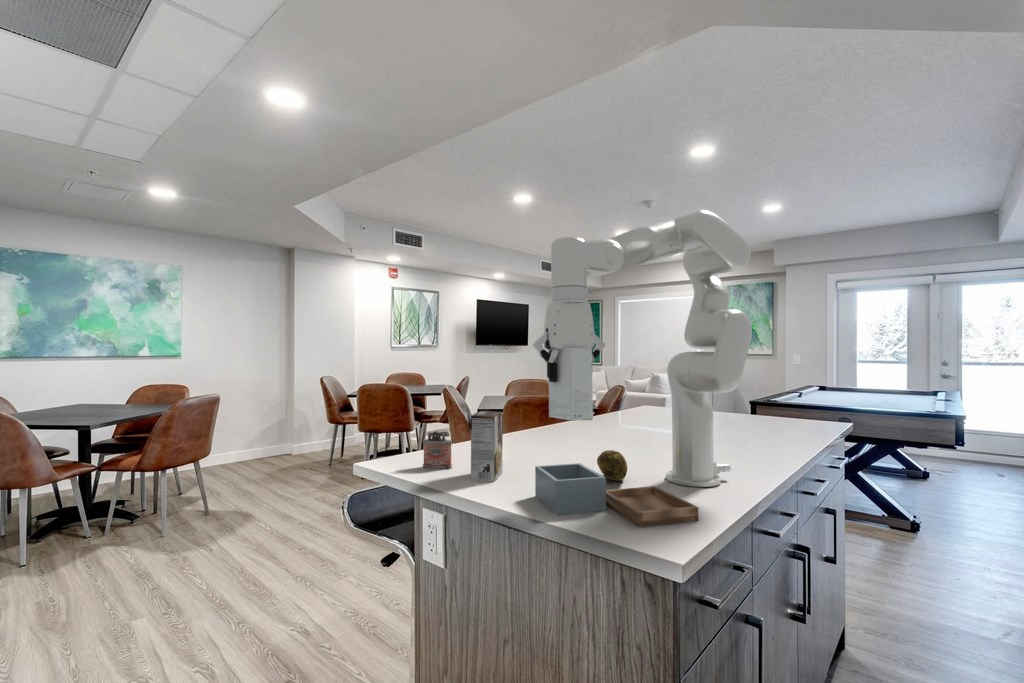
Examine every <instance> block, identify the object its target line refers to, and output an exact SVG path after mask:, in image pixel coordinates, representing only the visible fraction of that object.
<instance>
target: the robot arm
mask: <svg viewBox="0 0 1024 683" xmlns="http://www.w3.org/2000/svg"><path fill="white" fill-rule="evenodd" d="M681 253H683V257H682V265H683V268H684V271H685V273H686V274H687V277H688V279H689V280H690V282H691V284H692V288H693V298H692V304H691V307H690V309H689V313H688V317H687V320H686V324H685V328H684V333H683V337H684V342H685V343H686V345H688V347H690V348H693V349H696V350H714V351H683V352H679V353H678V354H675V355H674V356H672V357H671V359H670V360H669V362H668V365H667V380H668V385H669V390H670V394H671V432H672V433H671V441H672V442H671V444H672V446H671V448H672V449H671V451H672V452H671V455H672V456H671V457H672V458H671V459H672V462H671V464H672V465H671V467H672V468H671V470H669V471H667V472H666V473H665V478H666V480H667V481H669V482H671V483H673V484H676V485H680V486H687V487H693V488H694V487H695V488H697V487H698V488H706V487H707V488H709V487H710V488H711V487H717V486H718V485H720V484H721V483H722V479H721V477H720V476H719V475H718V474H720V473H727V472H728V473H729V472H731V470H732V466H731V465H730V464H729V463H721V464H719V463H718V462H716V461H715V460H714V459H715V457H714V456H715V455H714V452H715V451H714V450H715V449H714V446H715V445H714V409H713V408H714V407H713V404H712V401H711V399H710V397H709V395H708V393H717V394H718V393H719V394H725V393H726V394H727V393H730V392H732V391H735V389H736V388H737V387H738V386H739V384H740V383H741V381H742V380H741V379H742V376H743V374H744V369H745V366H746V362H747V357H748V354H749V349H750V347H751V342H752V334H753V329H752V323H751V320H750V318H749V317H748V315H747V314H746V313H745V312H743V311H741V310H738V309H728V308H729V304H730V293H729V290H728V288H727V286H726V285H725V284H724V282H723V281H722V280H721V277H720V276H719V275H720V274H726V273H733V272H736V271H737V272H738V271H739V270H742V269H744V268H745V267H746V266H747V265H748V264H749V262H750V260H751V256H752V254H751V253H752V252H751V247H750V245H749V243H748V241H747V240H746V238H745V237H744V236H743V235H742V234H741V233H739V231H737V230H736V229H734V228H733V227H732V226H731V225H729V223H728V222H726V220H724V219H722V218H721V217H720V216H718V215H717V214H715V213H713V212H711V211H709V210H705V209H700V210H696V211H693V212H690V213H687V214H684V215H680V216H677V217H673V218H670V219H667V220H663V221H659V222H655V223H652V224H648V225H643V226H640V227H637V228H632V229H631V230H628V231H626V232H623V233H621V234H618V235H615V236H613V237H611V238H593V239H591V238H590V239H588V238H586V239H583V238H581V237H578V236H563V237H562V236H561V237H559V238H556V239H554V240H553V241H552V243H551V245H550V265H551V266H550V274H551V276H550V280H551V281H550V282H551V283H550V286H551V292H550V293H551V298H550V299H551V302H550V303H547V304H546V311H545V316H544V326H543V334H542V335H541V336H539V337H538V338H537V339H536V340H535V341H534V342H533V343H532V347H533V348H534V349H535V351H536V352H537V353H538V354H539V357H541V358H542V359H543V360H544V361H545V363H546V377H547V379H548V383H549V382H557V363H555V359H556V357H557V354H558V352H559V350H563V349H564V348H591V349H592V363H594V362H595V360H596V358H597V357H598V356H599V355H600V354H601V352H602V351H603V350H604V348H605V347H606V343H605V342H604V341H603V340H602V339H601V338H600V337H599V336H598V335H596V334H597V333H596V334H595V324H594V316H593V312H592V307H591V304H590V302H588V301H589V299H593V296H594V293H593V292H590V291H589V288H588V279H591V278H595V277H601V276H605V275H609V274H612V273H614V272H616V271H618V270H620V269H626V268H633V267H638V266H642V265H645V264H650V263H652V262H655V261H659V260H661V259H665V258H667V257H672V256H674V255H677V254H678V255H679V254H681ZM543 346H544V347H543ZM594 346H595V347H594ZM593 348H594V349H593ZM547 350H549V351H547Z"/></svg>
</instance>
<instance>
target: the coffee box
mask: <svg viewBox="0 0 1024 683" xmlns="http://www.w3.org/2000/svg"><path fill="white" fill-rule="evenodd" d="M503 465H504V464H503V411H493V410H480V411H477V412H475V413H473V414H472V415H470V481H473V482H487V483H490V482H491V483H495V482H496V481H498V479H499V477H500V476H501V475H502V474H503V472H504V470H503V467H504V466H503Z"/></svg>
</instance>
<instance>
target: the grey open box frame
mask: <svg viewBox="0 0 1024 683" xmlns="http://www.w3.org/2000/svg"><path fill="white" fill-rule="evenodd" d="M534 470H535V474H534V475H535V481H534V482H535V490H534V491H535V496H534V497H535V498H536V499H538V500H539V501H540V502H541V503H542V504H543V505H544V506H545V507H547V509H549V510H550V511H551V512H552V513H553V514H555V516H560V515H569V514H570V515H571V514H580V513H581V514H582V513H590V512H600V511H606V509H607V508H606V507H607V506H606V490H607V489H606V486H607V482H606V481H607V480H606V479H607V477H606V476H605V475H602V474H600V473H599V472H597V471H595V470H593V469H592V468H589V467H588V466H586V465H584V464H583V463H581V462H579V463H566V464H565V463H563V464H549V465H535V469H534Z"/></svg>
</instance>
